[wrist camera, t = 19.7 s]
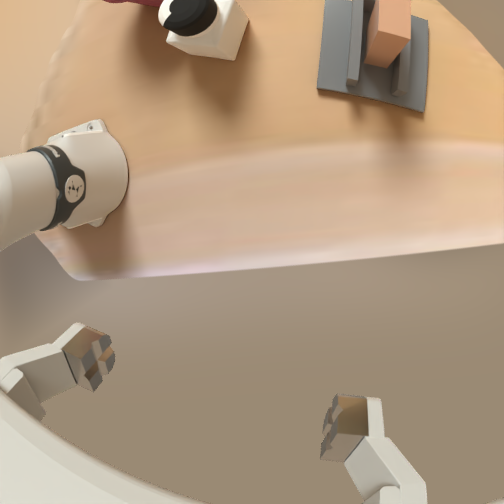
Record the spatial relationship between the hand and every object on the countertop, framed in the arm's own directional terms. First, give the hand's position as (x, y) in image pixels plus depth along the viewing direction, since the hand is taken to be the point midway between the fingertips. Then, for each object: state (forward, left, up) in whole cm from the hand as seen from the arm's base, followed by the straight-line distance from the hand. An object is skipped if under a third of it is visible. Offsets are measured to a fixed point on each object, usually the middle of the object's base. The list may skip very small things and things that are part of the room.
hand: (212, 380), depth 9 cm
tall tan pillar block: (+7, +22, -31) cm, 39 cm away
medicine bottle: (-14, +22, -32) cm, 41 cm away
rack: (+7, +22, -32) cm, 39 cm away
